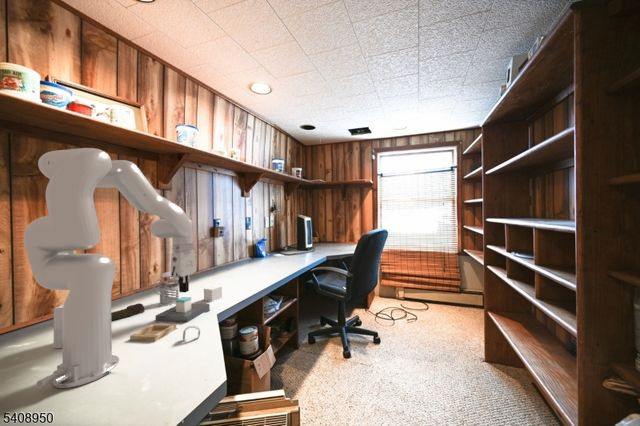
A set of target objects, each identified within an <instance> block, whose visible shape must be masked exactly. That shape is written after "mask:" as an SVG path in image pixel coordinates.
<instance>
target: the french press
mask: <svg viewBox="0 0 640 426" xmlns="http://www.w3.org/2000/svg"><path fill="white" fill-rule="evenodd" d="M167 255H168V256H172V252H169V251H168V252H166V256H167ZM159 277H160V278H168V281H165V282H162V280H161V279H160V278H159V279H156V281H155V282H154V283H153V285H152V287H153V288H152V290H153V292H154V294H156V295H158V296H159V303H158V304H157V305H159V307H168V305H169V306H173V305H172V304H174V305H176V300H177V299H180V298H179V297H180V296H179V293H180V292H179V283H178V281H174V280H172V281H171V280H170V278H173V277H172V276H171V270H168V271H166V272H163V273H162V274H160V275H159ZM158 282H159V283H160V284H161V286H160V287H159V288H160V290H159V291H160V293H157V292H156V290H155V289H156V288H155V287H156V284H157V283H158Z"/></svg>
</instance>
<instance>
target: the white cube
mask: <svg viewBox="0 0 640 426" xmlns="http://www.w3.org/2000/svg"><path fill="white" fill-rule="evenodd" d="M220 298H221V299H223V287H222V286H219V285H211V286H208V287H204V288H203V300H204V301H205V300H207V301H206V302H210V301H213V302H216V301H218V300H220ZM217 299H218V300H217ZM215 300H216V301H215Z"/></svg>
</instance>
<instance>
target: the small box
mask: <svg viewBox="0 0 640 426" xmlns="http://www.w3.org/2000/svg"><path fill="white" fill-rule="evenodd" d="M63 305H64V304H62V305H60V306H56V307H54V308H53V349H62V309H63Z"/></svg>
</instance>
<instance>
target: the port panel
mask: <svg viewBox="0 0 640 426" xmlns="http://www.w3.org/2000/svg"><path fill="white" fill-rule="evenodd" d="M210 308H211V307H210V303H192V302H191V310H189V311H187V312H176V305H175V306H174V305H173V307H171V308H169V309H166V310H164V311H162V312H160V313H158V314H156V315H155V316H154V317H155V318H154V319H155V322H166V323H189V322H191V321H192V320H195V319H196V318H197V317H200V315H202V314H205V313H208V312H210Z"/></svg>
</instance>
